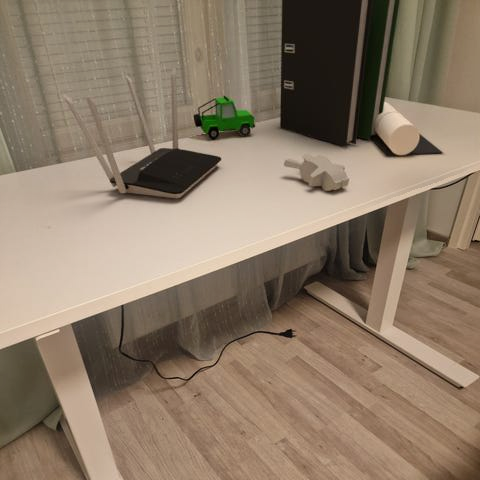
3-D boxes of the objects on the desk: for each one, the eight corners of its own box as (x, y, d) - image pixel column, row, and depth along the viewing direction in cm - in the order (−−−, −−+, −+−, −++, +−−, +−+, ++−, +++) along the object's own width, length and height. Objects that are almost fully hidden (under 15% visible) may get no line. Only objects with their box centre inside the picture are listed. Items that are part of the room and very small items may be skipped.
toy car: (256, 135, 124) (256, 98, 118) (198, 141, 121) (194, 103, 115) (248, 128, 131) (248, 92, 125) (193, 134, 128) (190, 97, 122)
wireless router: (169, 213, 84) (152, 101, 71) (72, 200, 90) (42, 96, 78) (230, 159, 108) (226, 69, 96) (151, 152, 115) (137, 67, 103)
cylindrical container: (383, 149, 105) (362, 123, 124) (408, 159, 106) (383, 131, 126) (399, 120, 101) (375, 97, 120) (425, 130, 102) (397, 106, 122)
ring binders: (380, 137, 118) (403, -9, 98) (341, 147, 112) (357, -6, 92) (315, 120, 136) (322, -6, 117) (278, 128, 130) (280, -3, 110)
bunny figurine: (327, 178, 85) (280, 151, 93) (323, 202, 88) (278, 174, 97) (360, 168, 89) (312, 143, 98) (355, 190, 92) (309, 165, 101)
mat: (412, 130, 124) (413, 128, 124) (442, 153, 107) (442, 152, 106) (364, 131, 124) (364, 130, 124) (386, 155, 107) (386, 154, 107)
